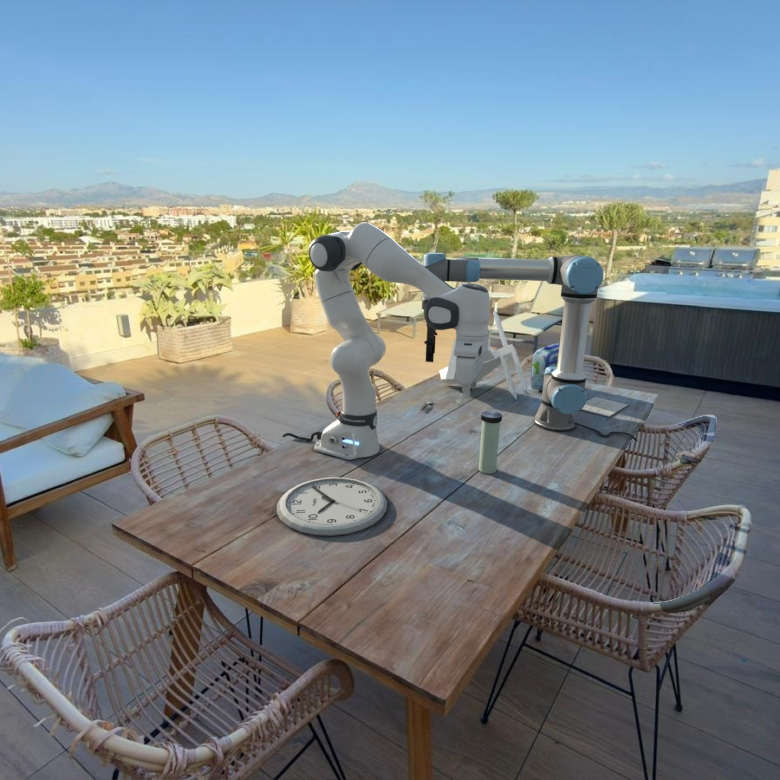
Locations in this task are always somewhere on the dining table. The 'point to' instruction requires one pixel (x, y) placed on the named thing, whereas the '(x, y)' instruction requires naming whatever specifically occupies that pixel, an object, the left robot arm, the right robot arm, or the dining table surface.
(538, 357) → the lunch box
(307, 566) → the dining table surface
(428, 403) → the fork
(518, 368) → the white plastic object
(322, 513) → the wall clock
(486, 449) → the bottle
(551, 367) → the right robot arm
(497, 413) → the lid
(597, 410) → the invitation card
